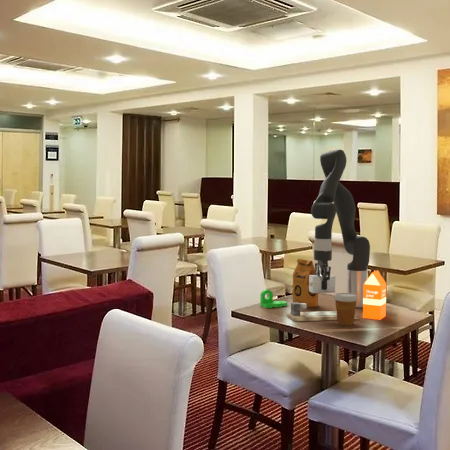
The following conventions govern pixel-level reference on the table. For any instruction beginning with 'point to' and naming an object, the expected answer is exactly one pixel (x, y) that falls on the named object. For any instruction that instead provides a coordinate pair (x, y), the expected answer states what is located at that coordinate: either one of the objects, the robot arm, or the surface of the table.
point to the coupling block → (316, 284)
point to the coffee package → (304, 284)
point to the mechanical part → (270, 300)
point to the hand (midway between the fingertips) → (322, 288)
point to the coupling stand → (310, 313)
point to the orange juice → (374, 297)
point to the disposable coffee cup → (345, 308)
